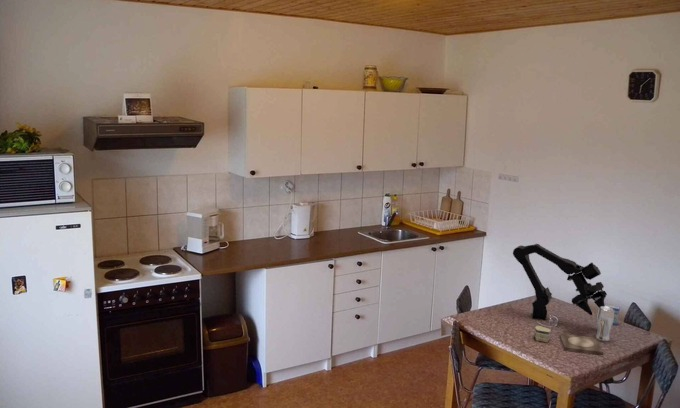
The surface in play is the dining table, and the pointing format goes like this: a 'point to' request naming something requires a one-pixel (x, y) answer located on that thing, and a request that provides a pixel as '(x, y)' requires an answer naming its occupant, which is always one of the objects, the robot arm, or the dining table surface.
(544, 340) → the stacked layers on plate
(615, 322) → the medicine box
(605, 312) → the beer glass
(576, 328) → the dining table surface
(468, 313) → the dining table surface
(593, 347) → the walnut board
